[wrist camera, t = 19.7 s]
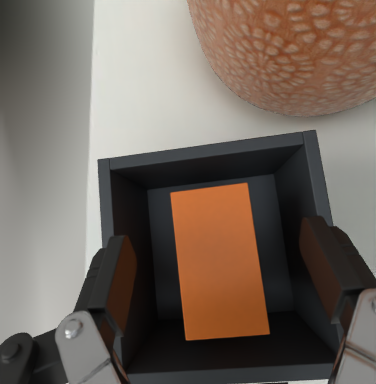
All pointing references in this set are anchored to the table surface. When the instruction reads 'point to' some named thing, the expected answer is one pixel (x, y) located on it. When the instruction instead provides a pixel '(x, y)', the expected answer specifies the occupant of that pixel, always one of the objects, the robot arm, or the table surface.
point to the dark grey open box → (267, 251)
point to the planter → (291, 51)
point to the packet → (218, 263)
